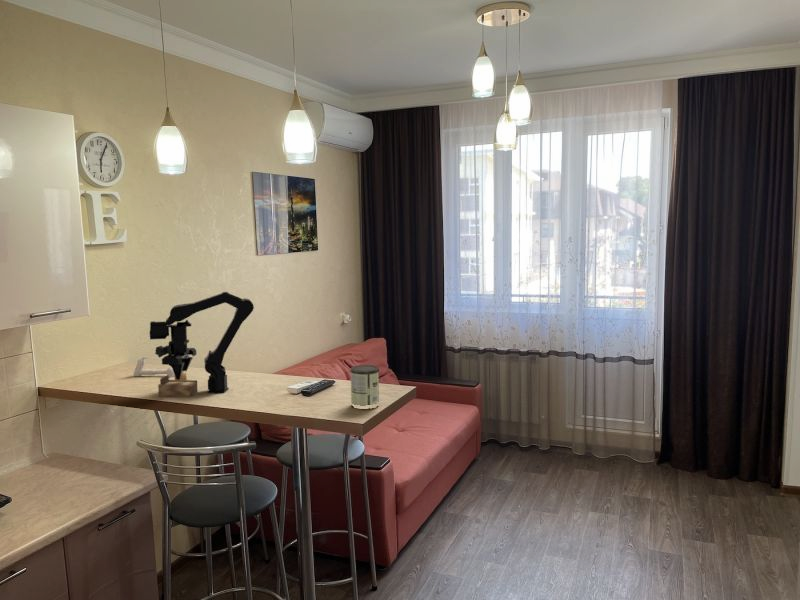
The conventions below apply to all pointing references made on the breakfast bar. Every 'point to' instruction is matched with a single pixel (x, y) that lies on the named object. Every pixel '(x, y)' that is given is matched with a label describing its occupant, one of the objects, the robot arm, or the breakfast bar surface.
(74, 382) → the breakfast bar surface
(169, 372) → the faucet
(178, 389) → the box
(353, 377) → the coffee can
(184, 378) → the tan wooden cube
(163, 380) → the lid
